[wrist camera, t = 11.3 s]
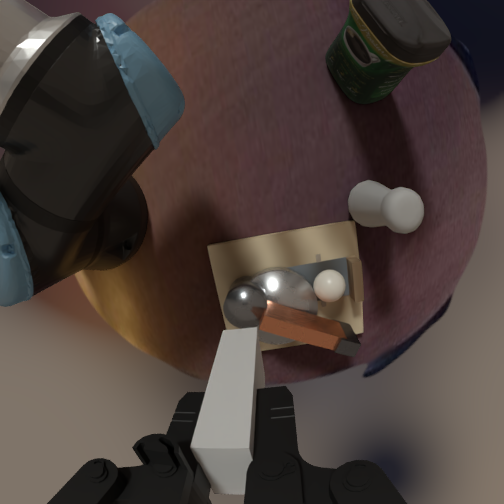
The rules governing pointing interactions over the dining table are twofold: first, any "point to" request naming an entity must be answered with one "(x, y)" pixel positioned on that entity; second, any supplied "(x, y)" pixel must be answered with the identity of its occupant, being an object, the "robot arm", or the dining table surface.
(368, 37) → the coffee jar
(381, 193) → the salt shaker
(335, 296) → the ball
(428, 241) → the dining table surface
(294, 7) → the dining table surface
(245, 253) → the stand
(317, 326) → the grey round-based piece
